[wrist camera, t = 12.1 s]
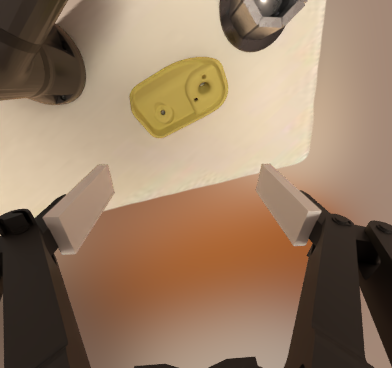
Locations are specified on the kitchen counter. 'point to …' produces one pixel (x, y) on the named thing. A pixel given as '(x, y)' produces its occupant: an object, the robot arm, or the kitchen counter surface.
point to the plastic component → (179, 95)
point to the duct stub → (267, 5)
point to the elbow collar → (261, 18)
